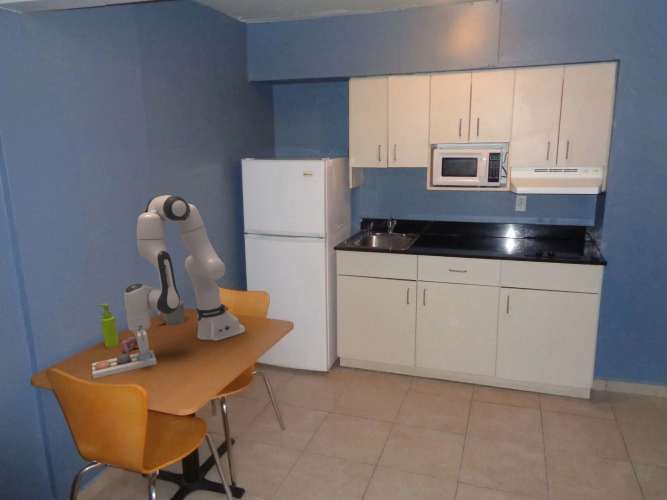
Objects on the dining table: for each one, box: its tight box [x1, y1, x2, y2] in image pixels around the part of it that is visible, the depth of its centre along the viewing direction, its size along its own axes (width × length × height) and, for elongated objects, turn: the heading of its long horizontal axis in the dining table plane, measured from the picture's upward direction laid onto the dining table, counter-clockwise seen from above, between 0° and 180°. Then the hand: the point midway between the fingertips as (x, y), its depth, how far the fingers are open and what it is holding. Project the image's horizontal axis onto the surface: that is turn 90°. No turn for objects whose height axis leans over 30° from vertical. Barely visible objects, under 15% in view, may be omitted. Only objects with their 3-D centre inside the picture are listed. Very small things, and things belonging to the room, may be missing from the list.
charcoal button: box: [116, 352, 132, 366], centre depth 201 cm, size 5×5×3 cm
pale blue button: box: [137, 352, 152, 361], centre depth 205 cm, size 5×5×3 cm
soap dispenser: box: [96, 303, 119, 348], centre depth 225 cm, size 6×7×20 cm
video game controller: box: [120, 335, 139, 354], centre depth 219 cm, size 10×5×7 cm, turn 142°
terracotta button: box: [96, 360, 110, 370], centre depth 198 cm, size 5×5×3 cm
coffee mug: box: [156, 300, 186, 326], centre depth 252 cm, size 13×10×10 cm
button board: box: [91, 349, 158, 380], centre depth 202 cm, size 24×12×2 cm, turn 117°
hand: (143, 354), depth 205 cm, fingers closed
